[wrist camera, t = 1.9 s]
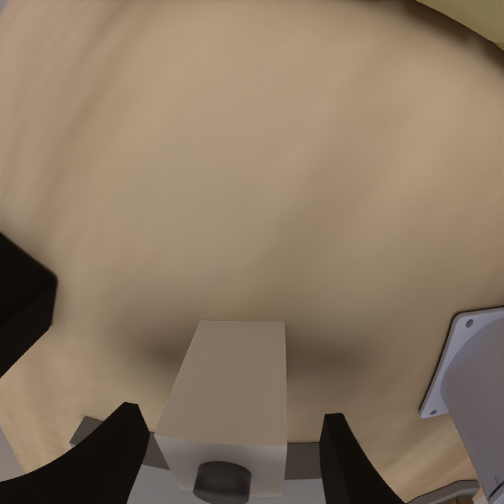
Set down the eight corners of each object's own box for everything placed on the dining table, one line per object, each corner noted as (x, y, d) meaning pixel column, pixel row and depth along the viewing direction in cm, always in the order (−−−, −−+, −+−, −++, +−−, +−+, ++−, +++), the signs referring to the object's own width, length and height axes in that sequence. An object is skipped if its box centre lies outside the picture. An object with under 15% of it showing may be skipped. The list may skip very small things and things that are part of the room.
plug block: (284, 321, 14) (286, 473, 6) (283, 382, 15) (281, 517, 8) (200, 320, 14) (144, 459, 7) (209, 380, 16) (174, 507, 8)
